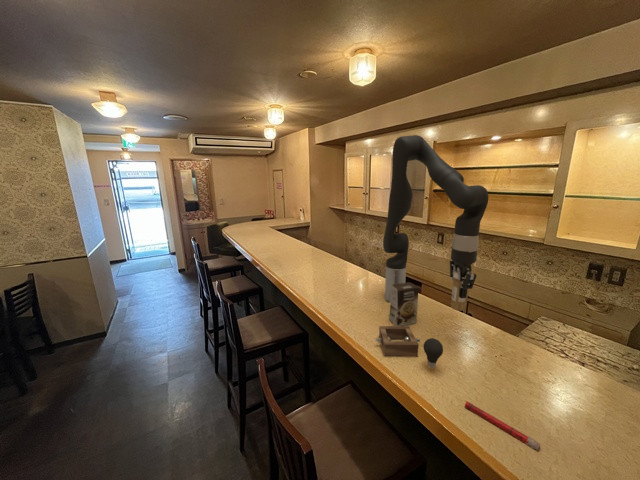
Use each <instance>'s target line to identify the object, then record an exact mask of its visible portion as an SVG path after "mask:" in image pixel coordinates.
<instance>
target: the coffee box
mask: <svg viewBox="0 0 640 480" xmlns="http://www.w3.org/2000/svg"><path fill="white" fill-rule="evenodd" d="M419 288H420V287H419V286H417V285H415V284H414V283H412V282H410V281H408V282H405V283H400V284H394V285H391V300H390V302H389V318H388V319H389V320H390V322H392V324H394V325H393V326H410V325H415V324H417V317H418V315H417V314H418V304H419V303H418V302H419V291H420V289H419Z"/></svg>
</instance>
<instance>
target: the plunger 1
mask: <svg viewBox="0 0 640 480" xmlns="http://www.w3.org/2000/svg"><path fill="white" fill-rule="evenodd" d="M388 339H389V341H392V340H391V338H390V337H388ZM375 342H380V343H381V342H383V338H379V337H375Z"/></svg>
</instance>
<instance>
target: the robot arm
mask: <svg viewBox="0 0 640 480" xmlns="http://www.w3.org/2000/svg"><path fill="white" fill-rule="evenodd" d="M391 158H392V159H391V160H392V162H391V163H392V166H391V170H392V171H391V172H392V173H391V183H390V191H389V198H388V200H389V201H388V208H387V220H386V226H385V229H384V234H383V241H382V246H383V250H384V251H383V252H385V253H386V254H395V255H394V256H391V257H389V258H387V259H386V261H385V285H384V288H385V289H384V299H385V301H386V302H387V303H390V300H391V285H394V284H400V283H406V279H407V278H406V277H407V275H406V273H407V264H408V263H407V262H408V256H409V255H408V254H409V253H408V252H409V244H410V243H409V237H408V234H407V233H405V232H396V229H397V227H398V225H399V224H400V223H401V221H402V220H403V219H404V218H405V217H406V216H407V215H408V213H409V211H410V210H411V207H412V202H413V194H414V193H413V189H412V186H411V184H410V182H409V179H408V175H407V169H408V168H407V167H408V163H409V161H418V162H420V163H422V164H423V165H425V167H426V170H427V172H428V175H429V177H430V180H432V181H433V182H434V183H435V184H436V185H437V186H438V187H439V188H441V190H443V191H444V192H445V195H446V196H447V197H448V198H449V200H450V202H451V203H452V204H453V205H454V206H455V207H458V208H459V209H462V210H463V212H462V213H461V214H459V216H457V218H456V219H455V223H454V231H453V236H452V237H453V238H452V242H451V251H450V260H449V271H450V272H449V275H450V278H451V280H452V283H453V282H454V272H455V271H457V272H458V280H459V281H460V290H459V297H460V298H467V294H468V289H469V290H473V287H474V285H475V282H476V279H477V274H476V273H473V272H472V265H473V264H475V263H476V262H477V259H478V257H477V256H478V250H479V249H478V248H479V238H480V237H479V234H480V229H481V227H480V226H481V222H482V218H483V217H484V214H485V212H486V209H487V206H488V204H489V203H488V202H489V193H488V190H487V189H486V188H485V187H484V186H483V185H476V184H475V185H468V184H466V183H465V182H464V181H465V177H464V175H462V174H461V173H460V172H459V171H458V170H456V169H455V168H453V166H451V165H450V164H448V163H447V162H446V161H445V160H444V159H442V158H441V156H439V154H438V153H437V151H435V150H434V148H432V146H431V145H430V144H429V143H428V142H427V141H426V140H425V139H424V138H423V137H422V136H421V135H419V134H418V135H417V134H415V135H414V134H412V135H411V134H410V135H404V136H403V135H402V136H399V137H397V138H396V139H395V140H394V143H393V147H392V157H391ZM462 277H466V278H465V279H462ZM463 281H464V284H463ZM452 289H453V287H452Z"/></svg>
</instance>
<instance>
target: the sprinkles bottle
mask: <svg viewBox="0 0 640 480" xmlns="http://www.w3.org/2000/svg"><path fill="white" fill-rule="evenodd" d="M465 278H466V277H462V279H465ZM463 284H464V281H463ZM452 288H453V289H452V291H451V301H450V308H451V309H452V310H454V311H459V312H460V311H465V308H466V307H465V306H466V305H465V304H466V300H467V299H466V298H467V297H466V298H460V297H459V290H460V281H459V280H458V272H457V271H455V272H454V282H453V281H452Z"/></svg>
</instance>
